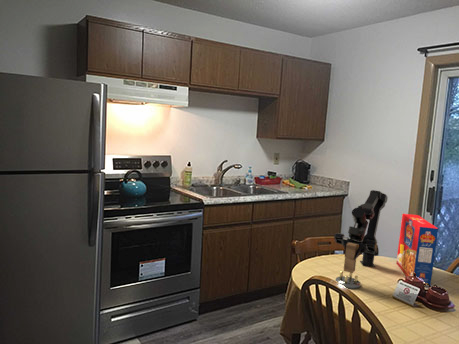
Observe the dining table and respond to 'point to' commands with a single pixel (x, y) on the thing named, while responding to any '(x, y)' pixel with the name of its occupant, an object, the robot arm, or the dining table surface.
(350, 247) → the walnut block
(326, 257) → the dining table surface
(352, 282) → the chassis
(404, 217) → the pasta box
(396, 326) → the dining table surface
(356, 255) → the robot arm
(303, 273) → the dining table surface
